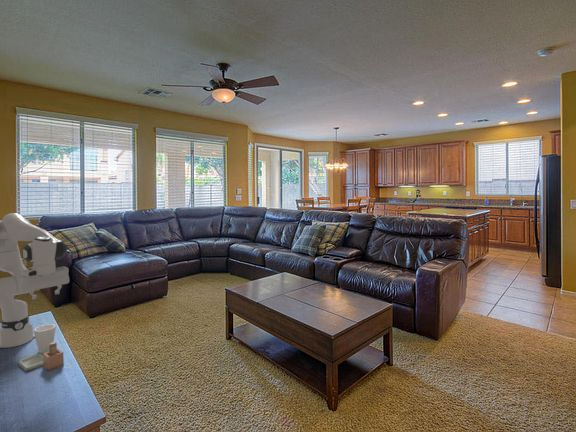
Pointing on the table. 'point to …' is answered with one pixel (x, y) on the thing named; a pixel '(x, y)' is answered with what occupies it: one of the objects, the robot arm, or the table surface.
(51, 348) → the dowel
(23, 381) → the table surface
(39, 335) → the foam cup
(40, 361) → the tray
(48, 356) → the brown hollow block
